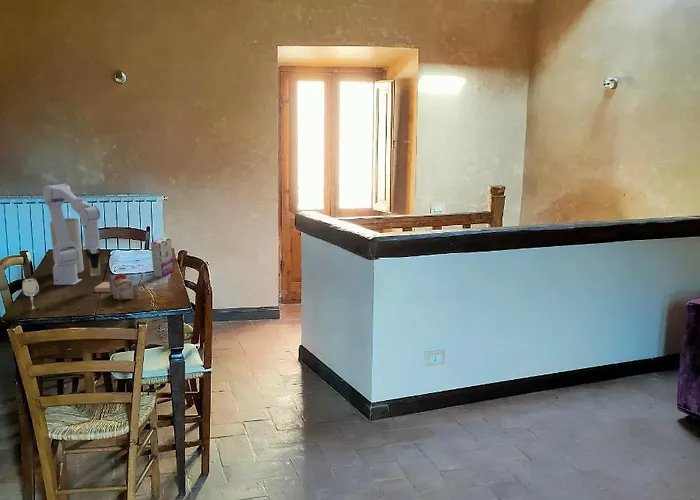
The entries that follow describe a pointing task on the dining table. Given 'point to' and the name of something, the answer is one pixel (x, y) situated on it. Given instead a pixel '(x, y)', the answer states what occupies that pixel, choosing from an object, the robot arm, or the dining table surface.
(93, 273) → the beech stick
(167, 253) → the candy bar box
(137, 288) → the dining table surface
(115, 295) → the food item
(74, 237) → the cylinder vase
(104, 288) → the terracotta tile
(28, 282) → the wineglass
